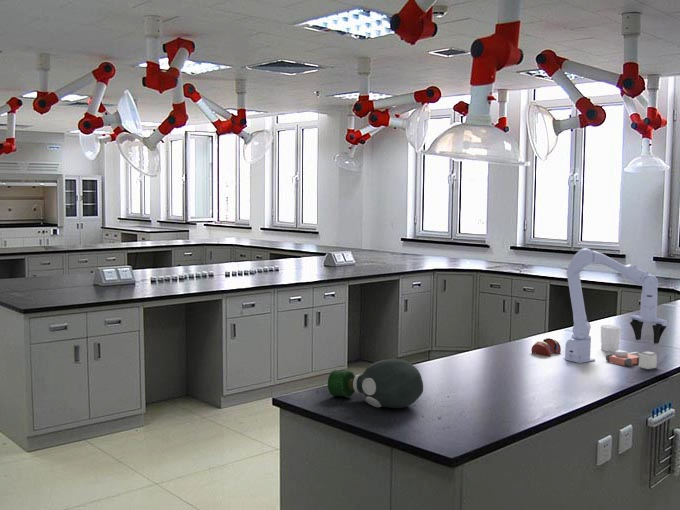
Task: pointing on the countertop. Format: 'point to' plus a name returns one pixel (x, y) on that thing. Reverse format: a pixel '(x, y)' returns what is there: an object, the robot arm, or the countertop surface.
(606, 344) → the white cup
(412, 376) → the gas mask
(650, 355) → the white drawer box
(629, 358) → the toy car
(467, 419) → the countertop surface
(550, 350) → the red rounded pieces
